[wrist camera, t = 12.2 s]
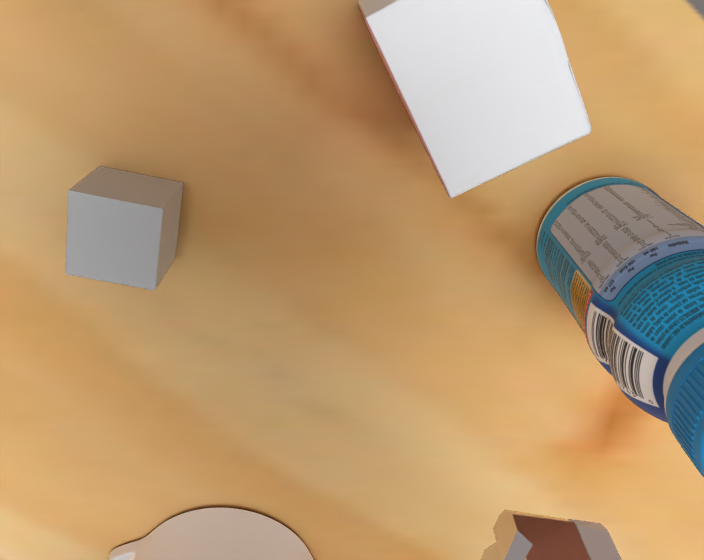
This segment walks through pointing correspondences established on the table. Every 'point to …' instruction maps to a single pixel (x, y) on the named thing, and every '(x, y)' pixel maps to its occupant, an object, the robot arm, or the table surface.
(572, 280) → the beverage bottle
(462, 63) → the small box
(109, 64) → the table surface
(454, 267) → the table surface
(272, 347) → the table surface
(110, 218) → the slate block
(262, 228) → the table surface
